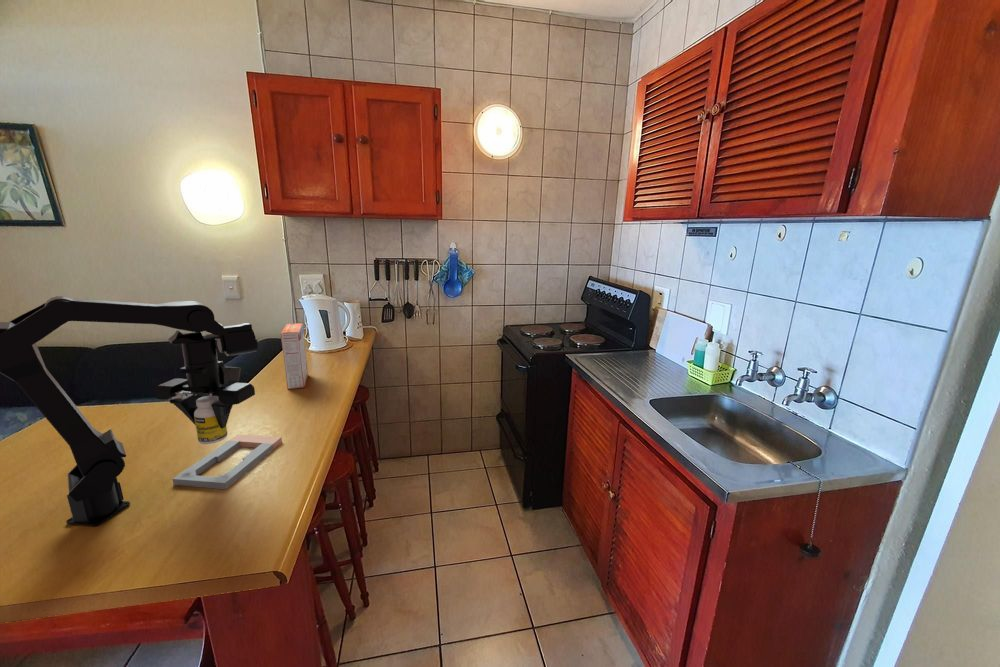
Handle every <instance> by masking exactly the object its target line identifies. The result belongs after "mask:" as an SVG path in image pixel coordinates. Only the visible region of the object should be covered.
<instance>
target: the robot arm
mask: <svg viewBox="0 0 1000 667" xmlns="http://www.w3.org/2000/svg"><path fill="white" fill-rule="evenodd" d="M68 322H91V323H92V322H93V323H117V324H118V323H119V324H135V325H136V324H137V325H139V324H141V325H157V326H163V327H166V328H171V329H174V330H175V329H176V330H175V332H174V334H173V335H171V336H170V337H169V338H168V339H167V340H168V342H169V343H170V344H171V345H173V346H175V345H181V348H182V349H181V350H182V356H183V361H184V366H182V367H180V368H179V369H180V373H181V374H186V378H173V379H170V380H168V381H165V382H163V383H160V384H158V385H157V386H156V389H155V390H154V394H155V399H156V400H163V401H164V400H166V401H168V400H169V403H170V404H173V406H175V407H176V408H177V409H178V410H180V411H181V412H182V413H183V414H184V415H185V417H187V418H188V419H189V421H191V423H192V424H194V425H195V427H196V424H195V418H194V412H195V410H196V409H198V408H197V406H196V400H197V399H199V398H201V397H203V396H218V401H217V402H215V403H213V404H211V406H212V409H213V411H214V414H215V416H216V419H217V422H218V424H219V426H220V428H224V427H227V426H228V425H227V424H228V421H229V417H230V415H231V412H232V408H233V406H234V405H239V404H241V403H243V402H245V401H247V400H248V399H250V398H252V397H254V396H255V395H256V391H255V386H254V385H253V384H252V383H248V382H239V381H240V375H241V369H242V368H241V367H236V366H225V363H224V362H223V360H221V361H220V360H219V359H218V358H219V357H218V351H219V353H221V354H222V353H224V354H225V356H226V357H231V356H237V355H243V354H244V355H245V354H249V353H255V352H257V351H258V345H259V344H258V339H257V338H256V335H255V332H254V330H253V325H252V323H249V322H243V323H241V324H234V325H225V326H224V325H223V324H222V323H220V322H219V321H216V319H215V314H214V312H213V310H212V309H210V308H209V306H207V305H205V304H203V303H201V302H200V301H196V300H183V301H181V300H180V301H178V300H177V301H170V302H162V303H146V302H145V303H143V302H133V301H132V302H129V301H115V300H102V299H88V298H73V297H68V296H64V295H59V296H58V295H57V296H53V297H51V298H49V299H48V300H46V302H44V303H42V304H41V305H39V306H38V305H37V306H36V307H34V308H32V309H31V310H28V311H26V312H24V313H22V314H21V315H18V316H17V317H15V318H14V319H11V320H9V321H0V374H1V375H2V376H4V377H6V378H8V379H9V380H11V381H12V382H14V383H15V384H17V386H18V388H20V390H21V391H22V392H23V393H24V394H25V395H26V396H27V397H28V399H29V400H30V401H31V402H32V403H33V405H34V406H35V407H36V409H38V411H39V412H40V413H41V414H42V415H43V416H44V418H45V419H46V420H47V421H48V423H49V424H50V425H51V426H52V427H53V429H55V431H57V433H58V434H59V435H60V436H61V437H62V439H63V440H64V441H65V443H66V444H67V445H68V446H69V449H70V450H71V454H72V456H73V458H74V462H75V464H76V465H75V466H74V467H73V468H72V469H71V470H70V471H69V472H68V473H67V485H68V486H67V488H68V494H67V495H66V498H67V502H68V506H69V508H70V513H71V517H70V518H68V519H66V521H65V522H66V525H76V526H77V525H78V526H87V527H88V526H90V527H97V526H100V525H102V524H103V523H104V522H106V521H108V520H109V519H111V518H112V517H113V516H115V515H116V514H118V513H120V512H121V511H123V510H124V509H125V508H127V507H128V506H130V505H131V502H130V501H126V500H125V501H124V495H123V489H122V485H121V482H120V481H118V476H120V475H121V473H122V472H123V471H124V470H125V466H126V463H125V459H124V458H126V457H127V454H126V450H125V447H124V444H123V442H121V441H119V440H118V439H117V438H116V437H115V435H114V433H113V430H112V429H108V430H106V432H103V433H102V432H100V431H99V430H97V429H96V428H95V427H93V426H92V424H91V423H90V422H89V420H88V419H87V418H86V417H85V415H84V414H83V413H82V412H81V410H80V409H79V407H78V406H77V405H76V404H75V403H74V401H73V400H72V398H70V396H69V395H68V394H67V392H66V391H65V390H64V389H63V387H61V386H62V385H60V384H59V382H58V381H57V380H56V378H54V376H53V375H52V374H51V373H50V371H49V369H48V368H47V367H46V364H45V362H44V360H43V358H42V355H41V351H40V350H39V346H38V345H37V343H38V342H39V341H41V340H43V339H45V338H46V337H47V336H48V335H50V334H51V333H53V332H55V331H56V330H57V329H59V328H60V327H62V326H63V325H64V324H66V323H68ZM181 330H182V331H187V333H184V332H181ZM202 332H206V333H209V334H202ZM217 349H218V351H217ZM229 381H236V382H235V383H232V384H230V385H228V386H226V387H224V386H222V385H226V384H229ZM171 398H172V399H171Z"/></svg>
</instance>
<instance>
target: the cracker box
mask: <svg viewBox="0 0 1000 667" xmlns="http://www.w3.org/2000/svg"><path fill="white" fill-rule="evenodd" d="M304 328H305V327H304V323H300V322H299V323H287V324H286V325H285V326H284V328H283V329H282V331H281V332H280V338H281V347H282V354H283V355H282V356H283V363H284V364H283V366H284V371H285V379H286V389H287V390H293V389H301V388H303V389H304V388H305V387H306V383H307V380H308V376H309V370H308V359H307V350H306V340H305V332H304Z"/></svg>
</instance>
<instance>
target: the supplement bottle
mask: <svg viewBox="0 0 1000 667" xmlns="http://www.w3.org/2000/svg"><path fill="white" fill-rule="evenodd" d="M217 401H218V396H211V395H203V396H202V397H201V398H199V399H197V400H196V406H197V408H198V409H196V410H195V412H194V418H195V424H196V426H195V430H196V436H197V441H198V443H199V444H202V445H212V444H213V445H214V444H216V443H219V442H221V441H223V440H225V439H226V438H227V437H228V429H227V428H228V427H227V426H226V427H224V428H220V426H219V424H218V422H217V419H216V416H215V414H214V411H213V409H212V406H211V404H213V403H215V402H217ZM195 424H194V425H195Z"/></svg>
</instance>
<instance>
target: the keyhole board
mask: <svg viewBox="0 0 1000 667" xmlns="http://www.w3.org/2000/svg"><path fill="white" fill-rule="evenodd" d="M282 443H283V438H282V436H271V435H258V434H257V435H256V434H246V433H244V434H242V433H238V434H236V435H235V436H233V437H232V438H230V439H229V440H227V441H226V442H225V443H223V444H221V445H220V446H219V447H217V448H216V449H214V450H212V451H211V452H210V453H208V454H207V455H205V456H204V457H202V458H200V460H198V461H197V462H195V463H193V464H192V465H190V466H189V467H188V468H186V469H185V470H183V471H182V472H180V473H179V474H178V475H176V476H174V477H173V478H172V483H173V486H183V487H184V486H185V487H197V488H207V489H208V488H209V489H217V490H218V489H220V490H221V489H222V490H226V489H228V488H229V487H230V486H232V485H233V484H234V483H235V482H236V481H237V480H239V479H240V478H241V477H242V476H243V475H244V474H246V473H247V472H248V471H249V470H250V469H252V468H253V467H254V466H256V465H257V463H259V462H260V461H261V460H262V459H264V458H265V457H266V456H267V455H268V454H270V453H271V452H272V451H273V450H275V449H276V448H277V447H278V446H280V444H282ZM240 447H243V448H253V450H251V451H250V452H249V453H248V454H246V455H245V456H243V457H242V460H241V461H240V462H239V463H238V464H237V465H235V466H234V467H233V468H231V469H230V470H229V471H227V472H226V473H223V474H219V475H215V476H210V475H209V476H208V475H207V476H206V475H200V474H202V473H203V472H204V471H206V470H207V469H209V468H210V467H212V465H214V464H215V463H220V462H221V461H222V460H224V459H225V458H226V457H228V456H229V455H231V454H232V453H233V452H235V451H236V450H238V449H239V448H240ZM201 472H202V473H201Z"/></svg>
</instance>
